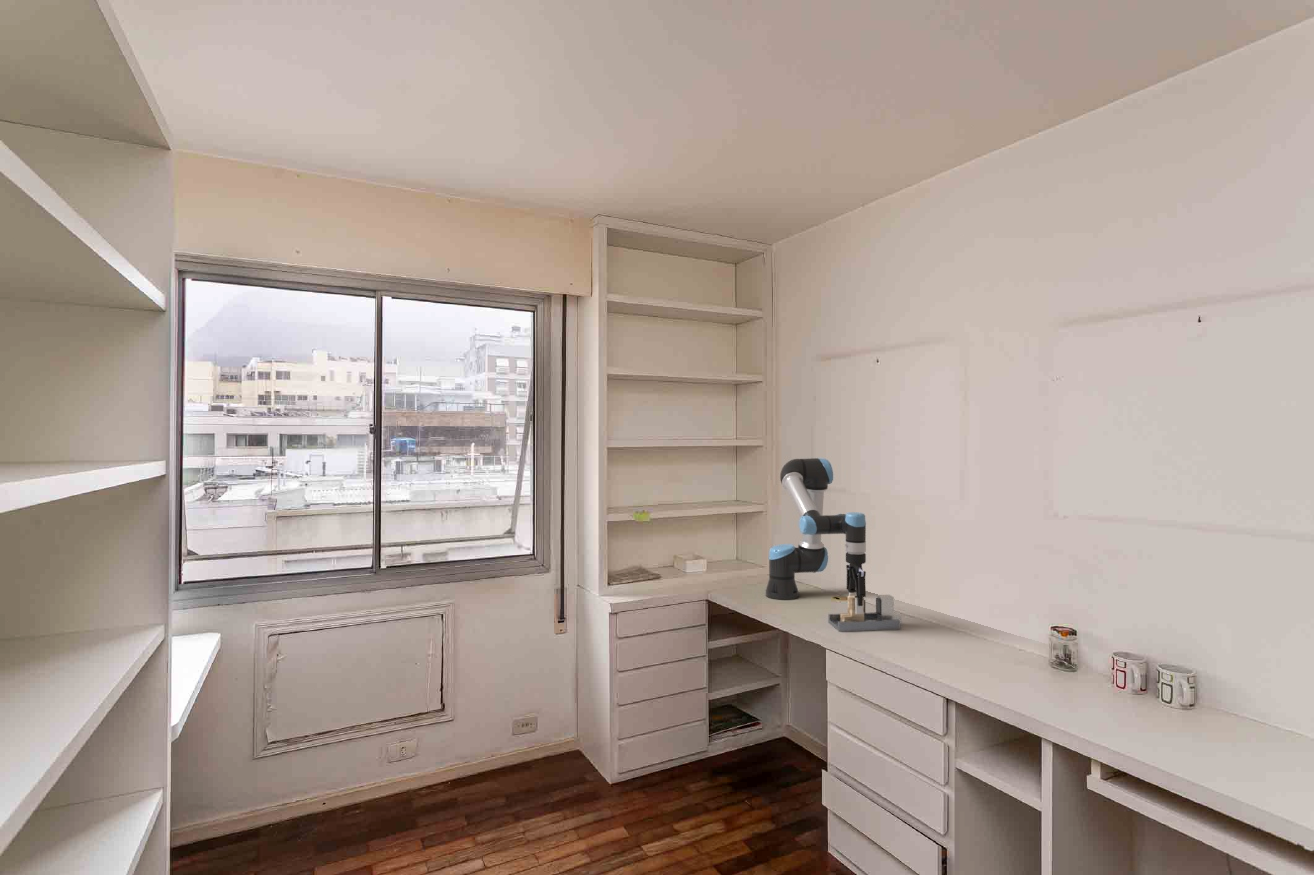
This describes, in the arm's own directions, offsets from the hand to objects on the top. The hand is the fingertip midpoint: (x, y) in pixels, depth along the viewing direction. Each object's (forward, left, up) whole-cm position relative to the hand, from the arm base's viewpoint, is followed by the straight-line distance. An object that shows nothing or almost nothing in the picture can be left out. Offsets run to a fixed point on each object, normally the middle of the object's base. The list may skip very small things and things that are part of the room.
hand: (855, 611), depth 262 cm
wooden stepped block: (0, -1, -4) cm, 5 cm away
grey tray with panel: (0, +4, -6) cm, 7 cm away
